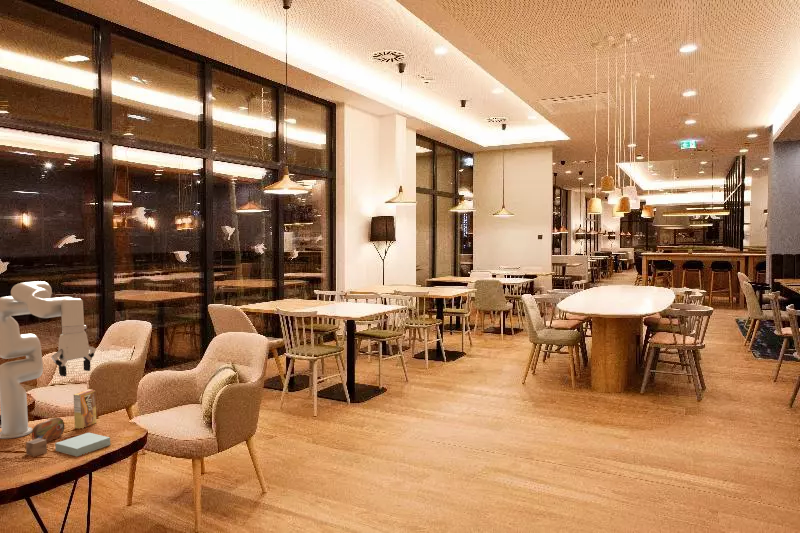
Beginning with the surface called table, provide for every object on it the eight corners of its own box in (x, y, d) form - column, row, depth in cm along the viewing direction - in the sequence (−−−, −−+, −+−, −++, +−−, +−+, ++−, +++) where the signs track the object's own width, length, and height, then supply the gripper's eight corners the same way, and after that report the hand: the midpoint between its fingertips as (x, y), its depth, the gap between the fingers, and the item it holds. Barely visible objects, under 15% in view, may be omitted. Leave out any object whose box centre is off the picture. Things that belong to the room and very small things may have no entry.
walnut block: (26, 454, 227) (25, 442, 226) (39, 450, 231) (39, 438, 231) (33, 456, 224) (33, 444, 224) (46, 452, 229) (46, 439, 228)
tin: (37, 447, 235) (36, 426, 234) (30, 446, 235) (29, 426, 235) (65, 434, 249) (64, 415, 249) (59, 434, 250) (58, 414, 250)
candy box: (89, 422, 266) (87, 389, 265) (97, 422, 265) (95, 389, 264) (74, 428, 257) (72, 394, 256) (82, 429, 256) (80, 394, 255)
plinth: (55, 450, 230) (55, 443, 230) (89, 439, 242) (88, 432, 242) (77, 456, 223) (76, 448, 223) (110, 444, 236) (110, 437, 235)
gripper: (88, 326, 236) (90, 367, 237) (45, 332, 221) (47, 377, 222) (99, 327, 233) (101, 369, 233) (56, 333, 217) (59, 379, 218)
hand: (75, 373), depth 228 cm, fingers open, 9 cm apart
